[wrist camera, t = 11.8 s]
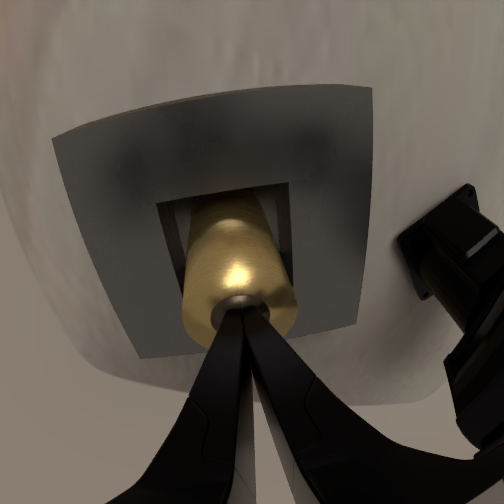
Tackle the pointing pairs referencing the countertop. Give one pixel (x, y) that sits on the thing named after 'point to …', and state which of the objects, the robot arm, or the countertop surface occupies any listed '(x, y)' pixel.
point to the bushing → (233, 266)
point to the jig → (218, 180)
